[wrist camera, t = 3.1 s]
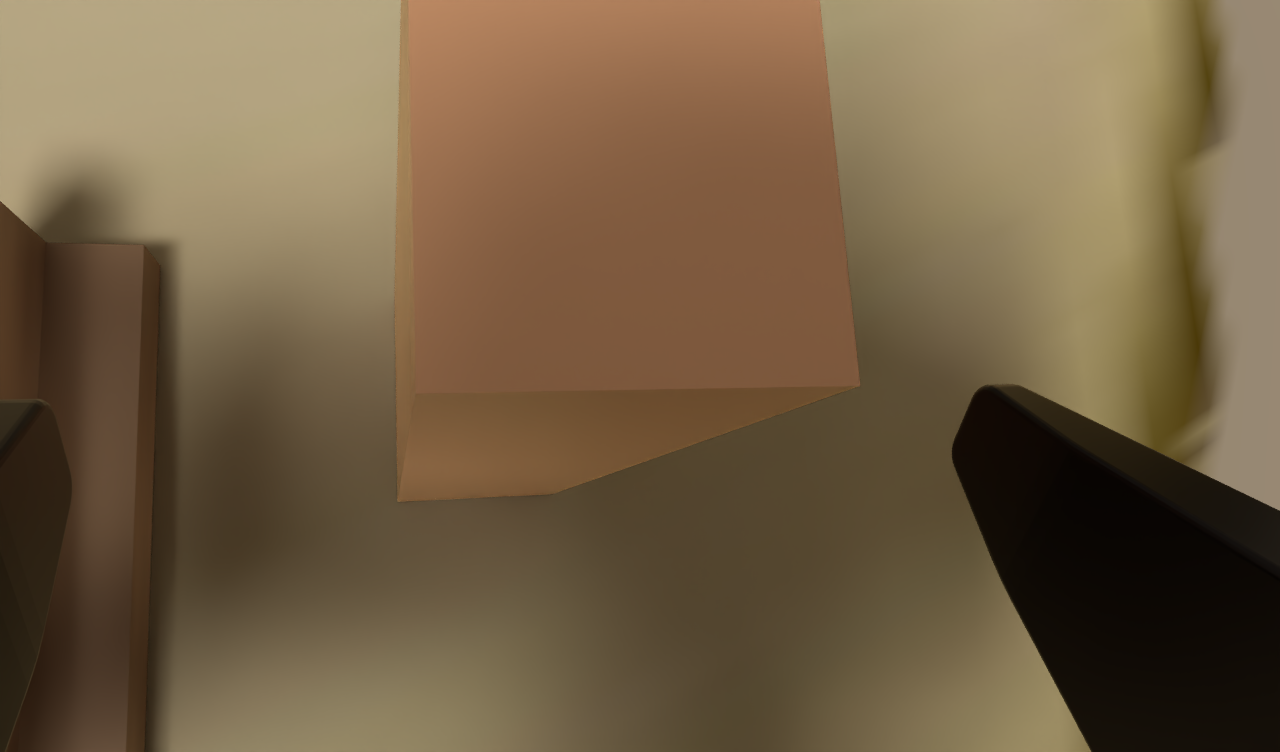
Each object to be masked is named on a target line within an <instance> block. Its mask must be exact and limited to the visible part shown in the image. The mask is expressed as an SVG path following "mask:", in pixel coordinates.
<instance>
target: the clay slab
mask: <svg viewBox="0 0 1280 752" xmlns="http://www.w3.org/2000/svg"><path fill="white" fill-rule="evenodd" d="M394 305H395V372H396V439H397V502H403V501H424V500H444V499H465V498H485V497H506V496H527V495H547V494H554V493H557V492H560V491H563V490H566V489H569V488H572V487H574V486H577V485H580V484H583V483H586V482H589V481H591V480H594V479H597V478H600V477H603V476H606V475H608V474H611V473H614V472H617V471H620V470H623V469H626V468H628V467H631V466H634V465H637V464H640V463H643V462H645V461H648V460H651V459H654V458H657V457H660V456H663V455H665V454H668V453H671V452H674V451H677V450H680V449H682V448H685V447H688V446H691V445H694V444H697V443H699V442H702V441H705V440H708V439H711V438H714V437H717V436H719V435H722V434H725V433H728V432H731V431H734V430H736V429H739V428H742V427H745V426H748V425H751V424H754V423H756V422H759V421H762V420H765V419H768V418H771V417H773V416H776V415H779V414H782V413H785V412H788V411H790V410H793V409H796V408H799V407H802V406H805V405H808V404H810V403H813V402H816V401H819V400H822V399H825V398H827V397H830V396H833V395H836V394H839V393H842V392H845V391H847V390H850V389H853V388H856V387H859V386H860V378H859V368H858V359H857V350H856V340H855V331H854V321H853V312H852V302H851V293H850V283H849V274H848V264H847V255H846V246H845V236H844V227H843V217H842V208H841V198H840V189H839V179H838V170H837V161H836V151H835V142H834V132H833V123H832V113H831V104H830V94H829V85H828V75H827V66H826V57H825V47H824V38H823V28H822V19H821V9H820V0H401V19H400V65H399V111H398V158H397V204H396V250H395V296H394Z"/></svg>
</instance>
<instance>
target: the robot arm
mask: <svg viewBox="0 0 1280 752" xmlns="http://www.w3.org/2000/svg"><path fill="white" fill-rule="evenodd" d="M952 460H953V464H954V467H955V470H956V472H957V475H958V477H959V480H960V482H961V485H962V487H963V489H964V492H965V494H966V497H967V499H968V502H969V504H970V507H971V509H972V512H973V514H974V516H975V519H976V521H977V524H978V526H979V529H980V531H981V534H982V536H983V539H984V541H985V543H986V546H987V548H988V551H989V553H990V556H991V558H992V561H993V563H994V565H995V568H996V570H997V572H998V574H999V577H1000V579H1001V581H1002V583H1003V585H1004V587H1005V589H1006V591H1007V593H1008V595H1009V597H1010V599H1011V601H1012V603H1013V605H1014V607H1015V609H1016V611H1017V612H1018V614H1019V616H1020V618H1021V620H1022V622H1023V624H1024V626H1025V628H1026V629H1027V631H1028V633H1029V635H1030V637H1031V639H1032V641H1033V643H1034V645H1035V646H1036V648H1037V650H1038V652H1039V654H1040V656H1041V658H1042V660H1043V661H1044V663H1045V665H1046V667H1047V669H1048V671H1049V673H1050V675H1051V677H1052V678H1053V680H1054V682H1055V684H1056V686H1057V688H1058V690H1059V692H1060V694H1061V695H1062V697H1063V699H1064V701H1065V703H1066V705H1067V707H1068V709H1069V711H1070V712H1071V714H1072V716H1073V718H1074V720H1075V722H1076V724H1077V726H1078V728H1079V729H1080V731H1081V733H1082V735H1083V737H1084V739H1085V741H1086V743H1087V745H1088V746H1089V748H1090V750H1091V752H1280V511H1279V510H1277V509H1275V508H1272V507H1271V506H1269V505H1267V504H1264V503H1262V502H1260V501H1258V500H1256V499H1254V498H1252V497H1250V496H1248V495H1246V494H1244V493H1241V492H1240V491H1238V490H1235V489H1233V488H1231V487H1229V486H1227V485H1225V484H1223V483H1221V482H1219V481H1217V480H1215V479H1213V478H1211V477H1209V476H1207V475H1204V474H1202V473H1200V472H1198V471H1196V470H1194V469H1192V468H1190V467H1188V466H1186V465H1184V464H1182V463H1180V462H1177V461H1175V460H1173V459H1171V458H1169V457H1167V456H1165V455H1163V454H1161V453H1159V452H1157V451H1155V450H1153V449H1151V448H1148V447H1146V446H1144V445H1142V444H1140V443H1138V442H1136V441H1134V440H1132V439H1130V438H1128V437H1126V436H1124V435H1121V434H1119V433H1117V432H1115V431H1113V430H1111V429H1109V428H1107V427H1105V426H1103V425H1101V424H1099V423H1097V422H1094V421H1092V420H1090V419H1088V418H1086V417H1084V416H1082V415H1080V414H1078V413H1076V412H1074V411H1072V410H1070V409H1068V408H1065V407H1063V406H1061V405H1059V404H1057V403H1055V402H1053V401H1051V400H1049V399H1047V398H1045V397H1043V396H1041V395H1038V394H1036V393H1034V392H1032V391H1030V390H1028V389H1026V388H1024V387H1022V386H1019V385H1014V384H1002V385H985V386H983V387H980V388H979V389H978V390H977V391H976V392H975V394H974V395H973V397H972V399H971V402H970V404H969V406H968V409H967V411H966V413H965V416H964V418H963V420H962V423H961V425H960V427H959V430H958V432H957V434H956V437H955V439H954V442H953V446H952ZM71 500H72V477H71V472H70V468H69V464H68V460H67V456H66V453H65V449H64V445H63V441H62V438H61V434H60V430H59V427H58V423H57V419H56V416H55V413H54V411H53V409H52V407H51V406H50V404H49V403H47V402H46V401H44V400H42V399H1V400H0V752H6V749H7V747H8V744H9V741H10V738H11V735H12V732H13V730H14V727H15V724H16V721H17V718H18V715H19V713H20V710H21V707H22V704H23V701H24V698H25V696H26V693H27V690H28V687H29V684H30V681H31V678H32V675H33V671H34V668H35V665H36V662H37V659H38V655H39V650H40V646H41V642H42V638H43V634H44V629H45V624H46V619H47V615H48V610H49V605H50V600H51V596H52V591H53V586H54V581H55V577H56V572H57V567H58V562H59V558H60V553H61V548H62V543H63V539H64V534H65V529H66V524H67V520H68V515H69V510H70V505H71Z"/></svg>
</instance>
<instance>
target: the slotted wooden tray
mask: <svg viewBox="0 0 1280 752" xmlns="http://www.w3.org/2000/svg"><path fill="white" fill-rule="evenodd" d="M159 290H160V265H159V263H158V262H157V261H156V260H155V258H154V257H153V256H152V255H151V253H150V252H149V251H148V250H147V248H146V247H145V246H144V245H124V244H83V243H46V242H45V241H44V240H43V239H42V238H40V237H39V236H38V235H37V234H36V233H35V232H34V231H33V230H32V229H30V228H29V227H28V226H27V225H26V224H25V223H24V222H23V221H22V220H21V219H19V218H18V217H17V216H16V215H15V214H14V213H13V212H12V211H11V210H9V209H8V208H7V207H6V206H5V205H4V204H3V203H2V202H1V201H0V400H1V399H42V400H44V401H46V402H47V403H49V404H50V406H51V407H52V409H53V411H54V413H55V416H56V419H57V423H58V427H59V430H60V434H61V438H62V441H63V445H64V449H65V453H66V456H67V460H68V464H69V468H70V472H71V477H72V500H71V505H70V510H69V515H68V520H67V524H66V529H65V534H64V539H63V543H62V548H61V553H60V558H59V562H58V567H57V572H56V577H55V581H54V586H53V591H52V596H51V600H50V605H49V610H48V615H47V619H46V624H45V629H44V634H43V638H42V642H41V646H40V650H39V655H38V659H37V662H36V665H35V668H34V671H33V675H32V678H31V681H30V684H29V687H28V690H27V693H26V696H25V698H24V701H23V704H22V707H21V710H20V713H19V715H18V718H17V721H16V724H15V727H14V730H13V732H12V735H11V738H10V741H9V744H8V747H7V749H6V752H145V728H146V697H147V666H148V634H149V603H150V572H151V541H152V509H153V478H154V447H155V415H156V384H157V353H158V322H159Z"/></svg>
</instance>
